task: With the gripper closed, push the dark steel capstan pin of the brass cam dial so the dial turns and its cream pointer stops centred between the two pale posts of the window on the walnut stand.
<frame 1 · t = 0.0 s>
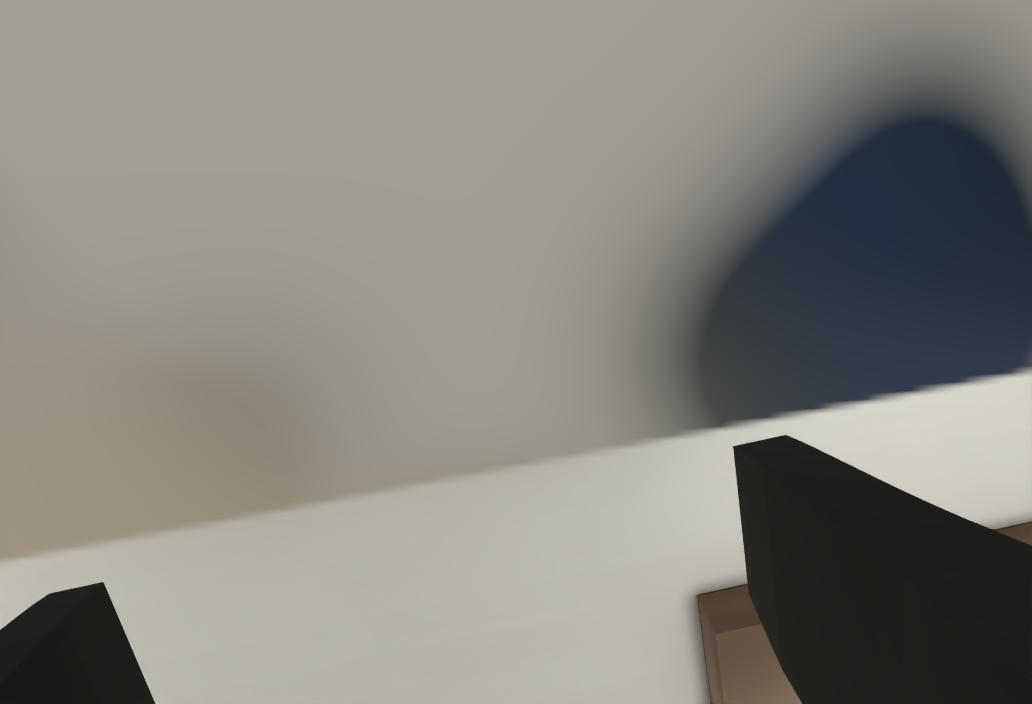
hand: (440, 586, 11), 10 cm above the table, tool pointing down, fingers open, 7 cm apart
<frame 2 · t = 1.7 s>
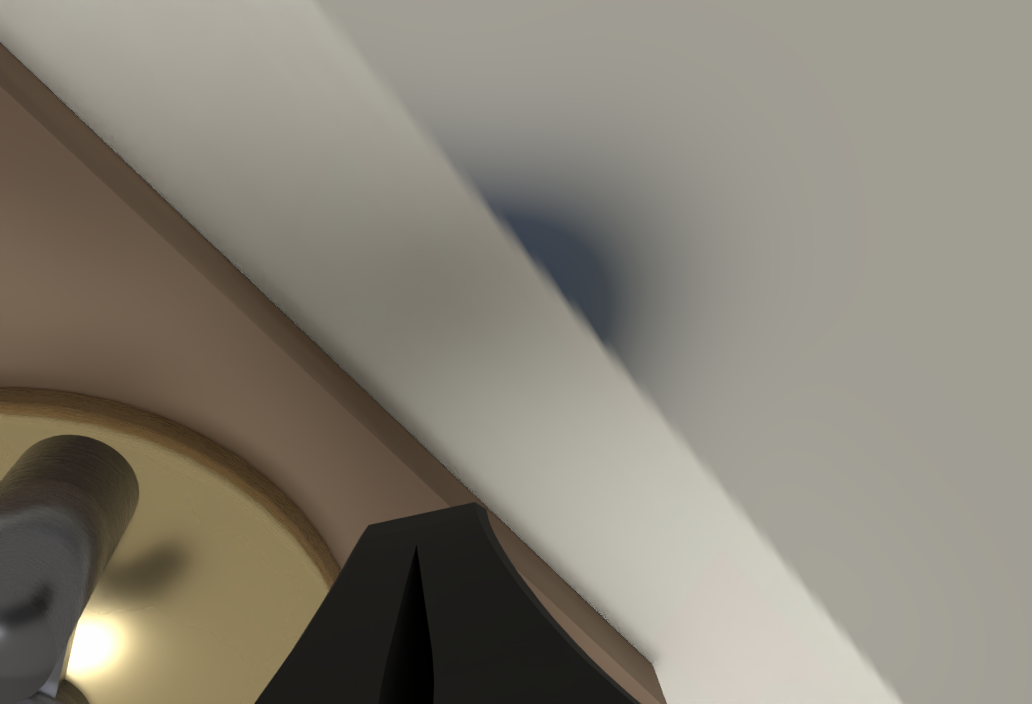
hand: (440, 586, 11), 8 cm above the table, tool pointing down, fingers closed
walnut stand: (111, 589, 20), on the table
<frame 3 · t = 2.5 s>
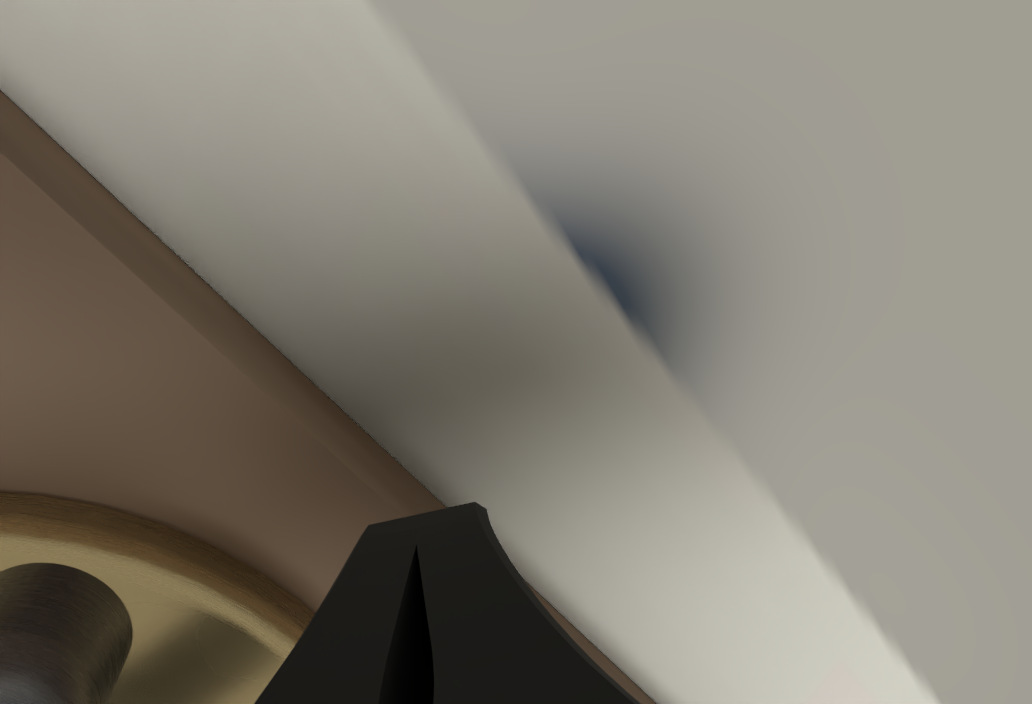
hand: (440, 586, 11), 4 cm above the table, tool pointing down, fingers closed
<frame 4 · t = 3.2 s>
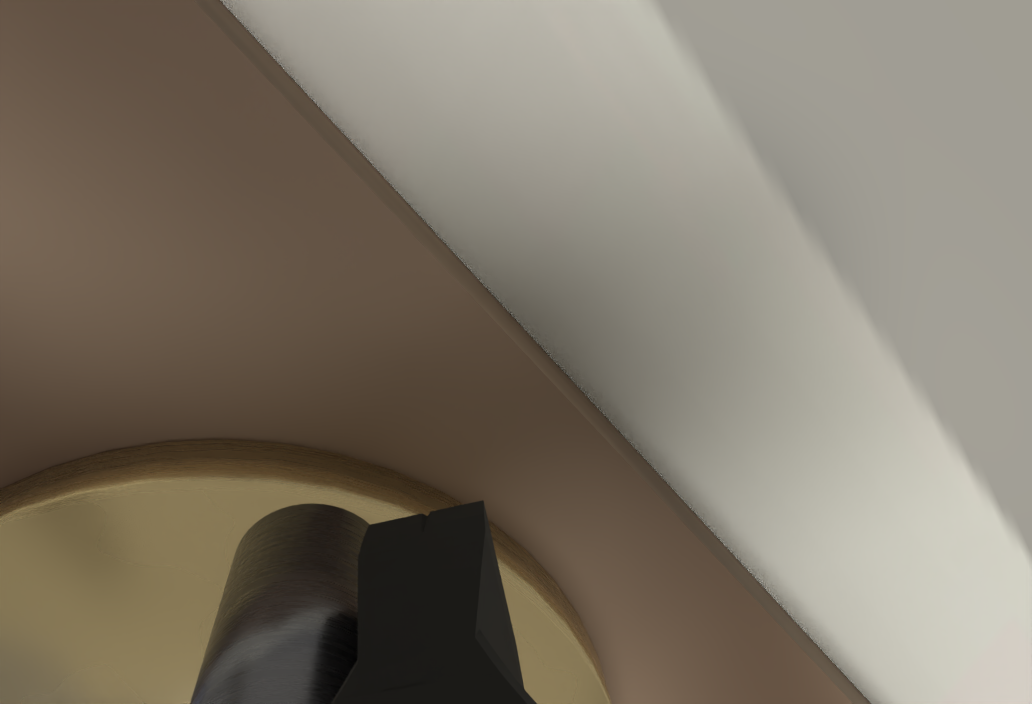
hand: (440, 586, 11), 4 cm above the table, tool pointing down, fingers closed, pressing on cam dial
walnut stand: (297, 673, 16), on the table
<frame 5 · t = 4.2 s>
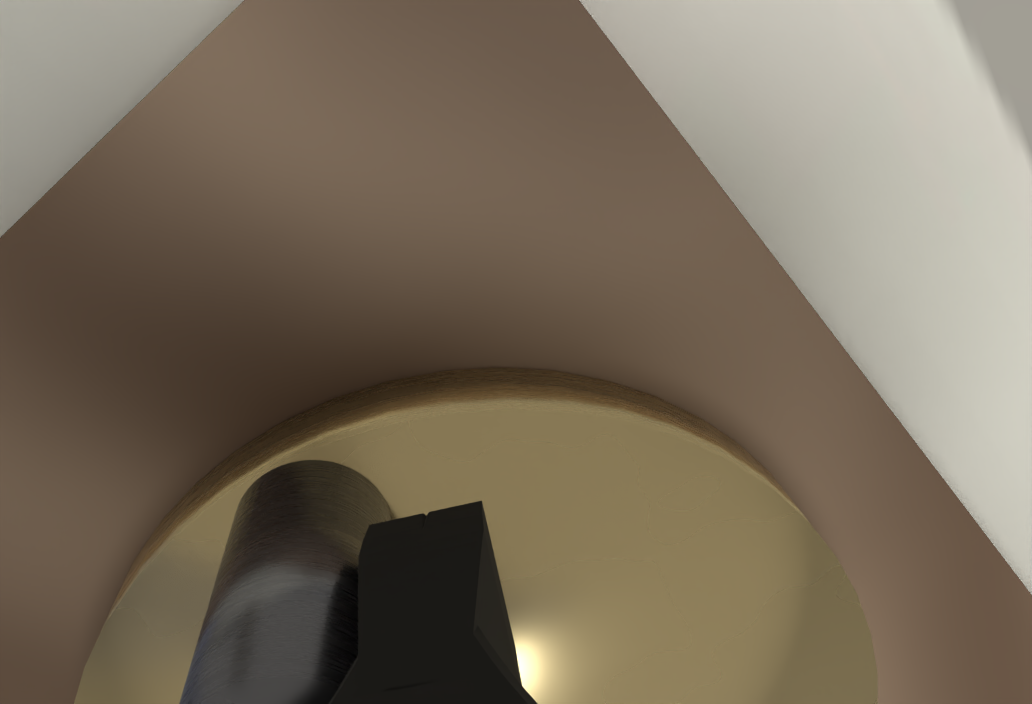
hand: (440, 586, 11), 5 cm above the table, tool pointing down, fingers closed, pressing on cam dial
walnut stand: (518, 611, 17), on the table
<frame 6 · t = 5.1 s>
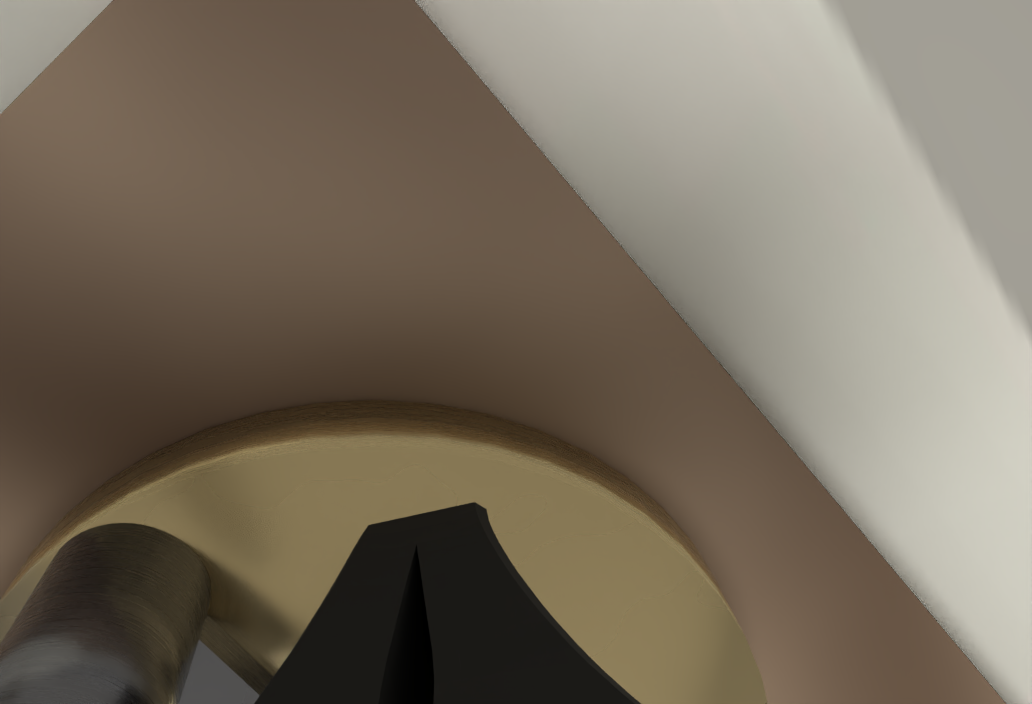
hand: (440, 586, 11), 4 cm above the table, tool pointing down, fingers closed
walnut stand: (421, 640, 16), on the table
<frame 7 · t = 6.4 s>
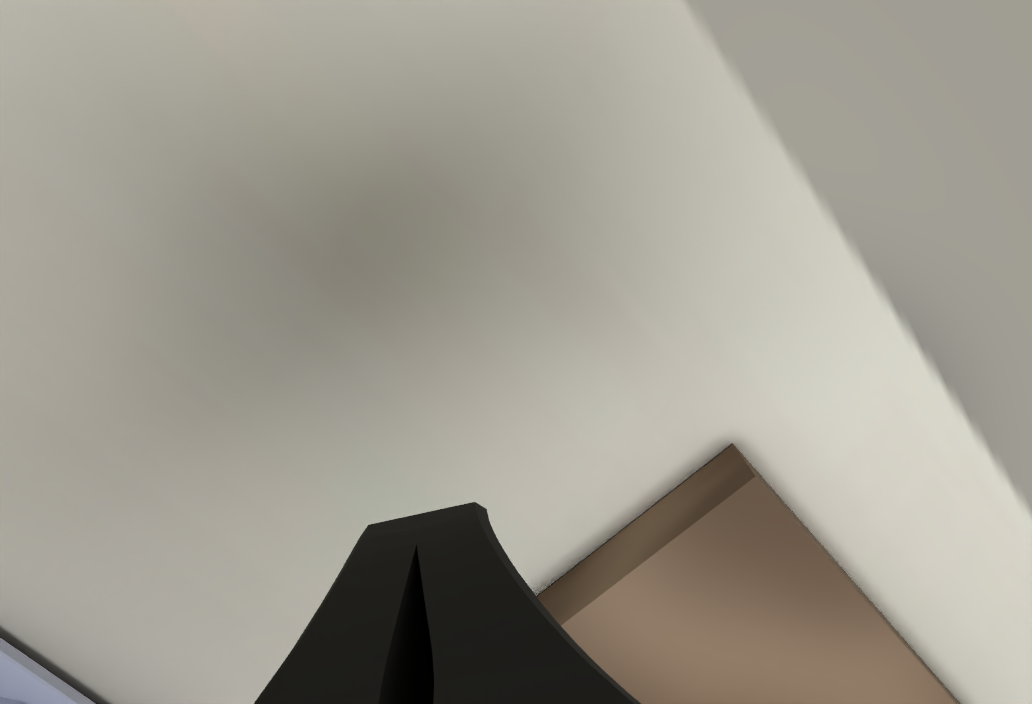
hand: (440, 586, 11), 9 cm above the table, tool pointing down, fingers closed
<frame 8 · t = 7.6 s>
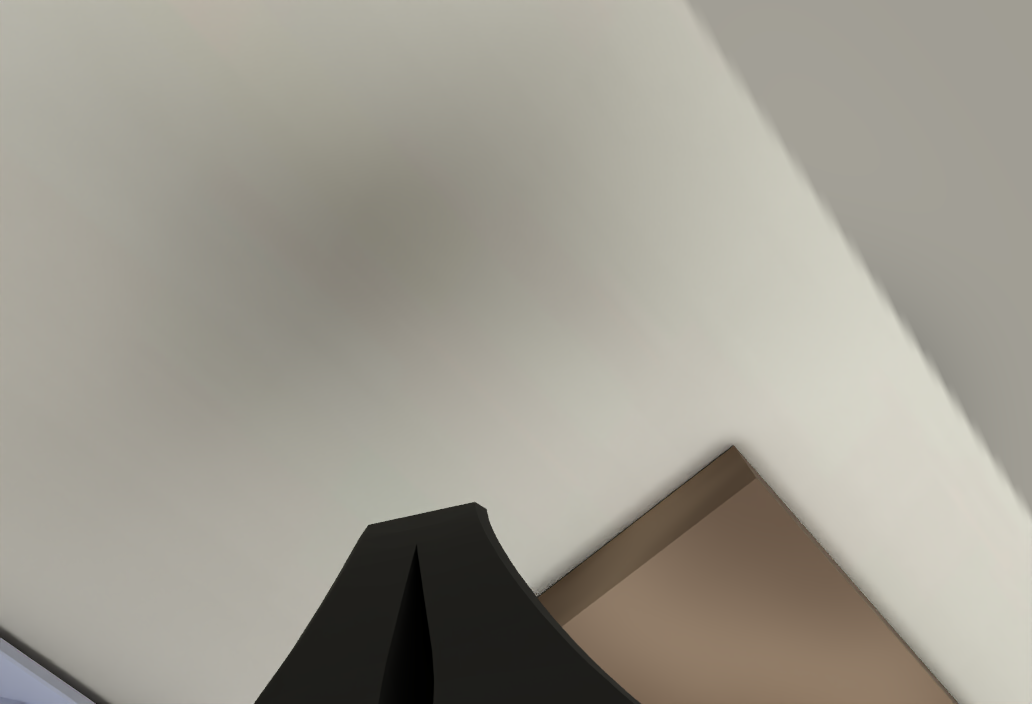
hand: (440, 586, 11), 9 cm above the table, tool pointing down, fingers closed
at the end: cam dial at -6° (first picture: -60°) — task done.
